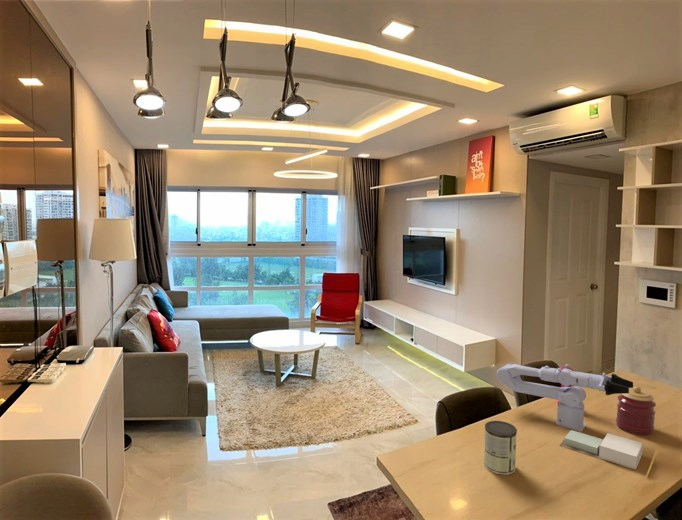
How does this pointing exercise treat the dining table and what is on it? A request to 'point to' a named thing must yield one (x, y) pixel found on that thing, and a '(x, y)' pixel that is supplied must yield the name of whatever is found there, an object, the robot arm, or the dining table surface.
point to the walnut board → (588, 453)
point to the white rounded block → (621, 450)
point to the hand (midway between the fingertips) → (630, 387)
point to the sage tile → (583, 441)
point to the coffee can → (500, 447)
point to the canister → (636, 412)
